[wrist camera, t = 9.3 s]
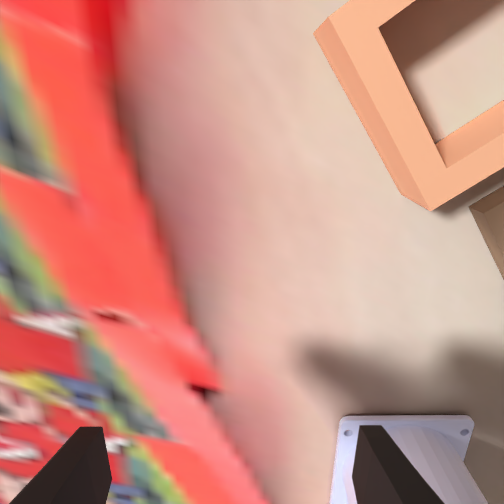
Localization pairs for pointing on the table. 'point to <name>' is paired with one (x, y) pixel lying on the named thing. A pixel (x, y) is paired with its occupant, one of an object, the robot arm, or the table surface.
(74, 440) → the robot arm
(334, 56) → the c link
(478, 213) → the stand base
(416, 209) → the table surface
